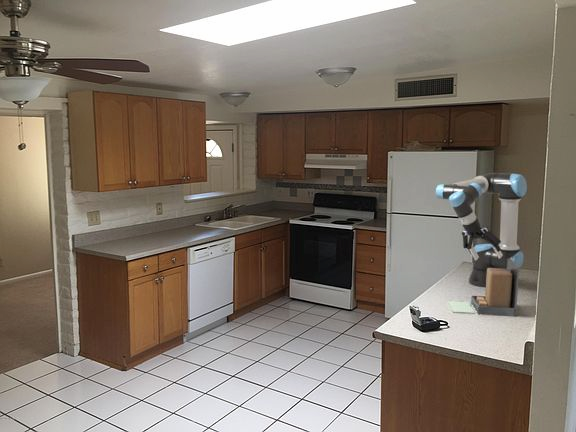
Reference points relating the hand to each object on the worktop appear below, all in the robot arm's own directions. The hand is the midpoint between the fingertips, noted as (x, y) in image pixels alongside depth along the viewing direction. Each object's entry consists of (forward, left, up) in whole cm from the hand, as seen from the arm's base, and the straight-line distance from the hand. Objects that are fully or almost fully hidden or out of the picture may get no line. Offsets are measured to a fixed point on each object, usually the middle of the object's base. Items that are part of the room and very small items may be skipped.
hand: (488, 257), depth 247 cm
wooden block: (+3, +5, -25) cm, 26 cm away
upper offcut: (+3, -3, -23) cm, 24 cm away
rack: (+3, +3, -25) cm, 25 cm away
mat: (+3, -12, -25) cm, 28 cm away
